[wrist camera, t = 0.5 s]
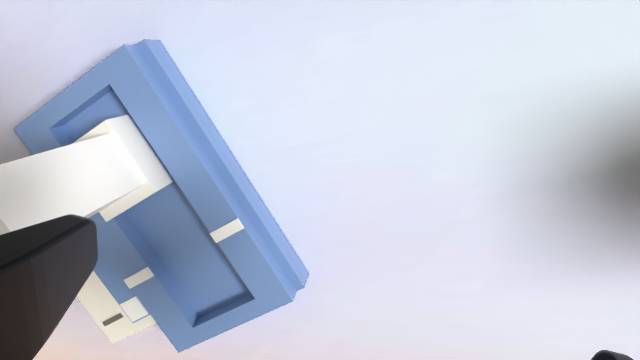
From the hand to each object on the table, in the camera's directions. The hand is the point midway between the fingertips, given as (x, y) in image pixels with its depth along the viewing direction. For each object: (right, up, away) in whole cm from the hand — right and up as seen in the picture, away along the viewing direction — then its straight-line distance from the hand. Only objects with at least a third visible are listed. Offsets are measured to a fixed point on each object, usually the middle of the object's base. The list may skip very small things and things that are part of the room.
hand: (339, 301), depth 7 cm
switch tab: (-10, +3, +14) cm, 18 cm away
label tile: (-14, -4, +19) cm, 24 cm away
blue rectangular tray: (-9, +1, +17) cm, 19 cm away
